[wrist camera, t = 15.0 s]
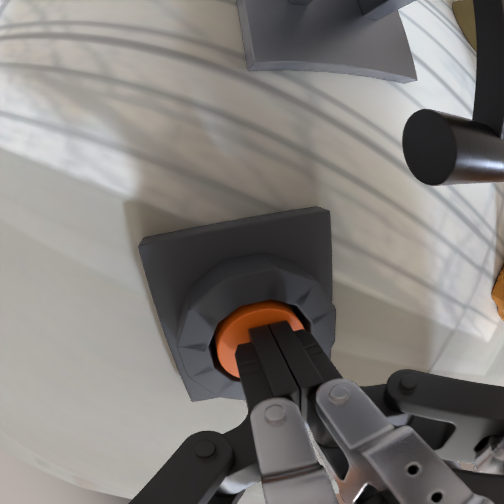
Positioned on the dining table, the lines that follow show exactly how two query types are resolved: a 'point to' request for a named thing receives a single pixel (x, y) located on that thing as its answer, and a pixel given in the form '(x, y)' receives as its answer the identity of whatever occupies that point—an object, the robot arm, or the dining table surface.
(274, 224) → the control block
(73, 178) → the dining table surface
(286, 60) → the lever stand
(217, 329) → the button
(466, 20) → the cork
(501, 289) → the coffee package
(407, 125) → the black t-handle
